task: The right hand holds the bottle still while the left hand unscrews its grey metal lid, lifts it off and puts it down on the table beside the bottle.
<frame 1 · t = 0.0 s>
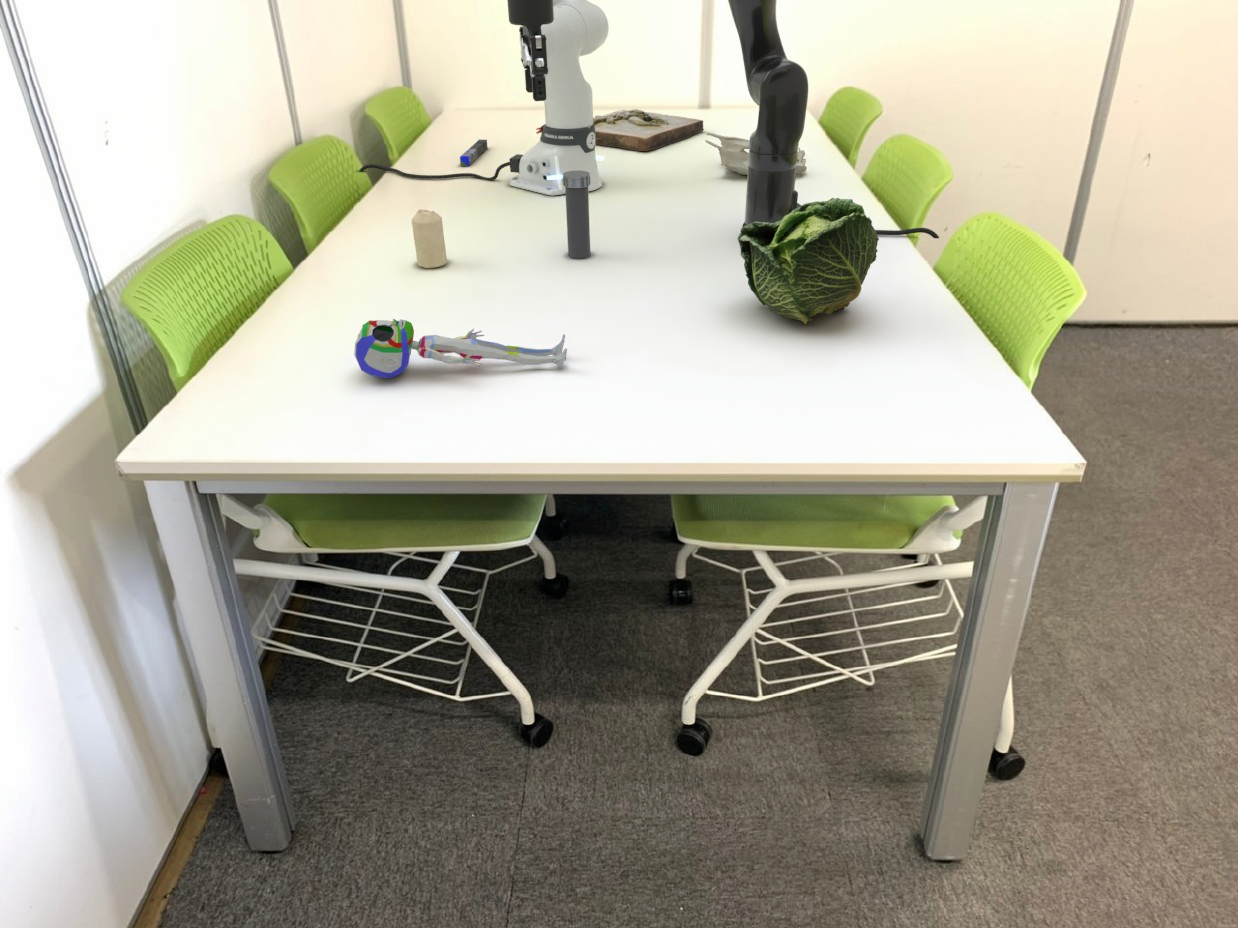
right hand: (536, 96, 156), 29 cm above the table, tool pointing down, fingers open, 8 cm apart
plaque: (633, 136, 259), on the table
candle: (432, 264, 170), on the table
anatomical model: (754, 173, 223), on the table
vegetable: (803, 313, 148), on the table
lid: (576, 176, 165), point 15 cm above the table, screwed on, not yet turned
blue-capped grey bar: (474, 157, 240), on the table
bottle: (579, 255, 173), on the table
toy: (464, 369, 132), on the table
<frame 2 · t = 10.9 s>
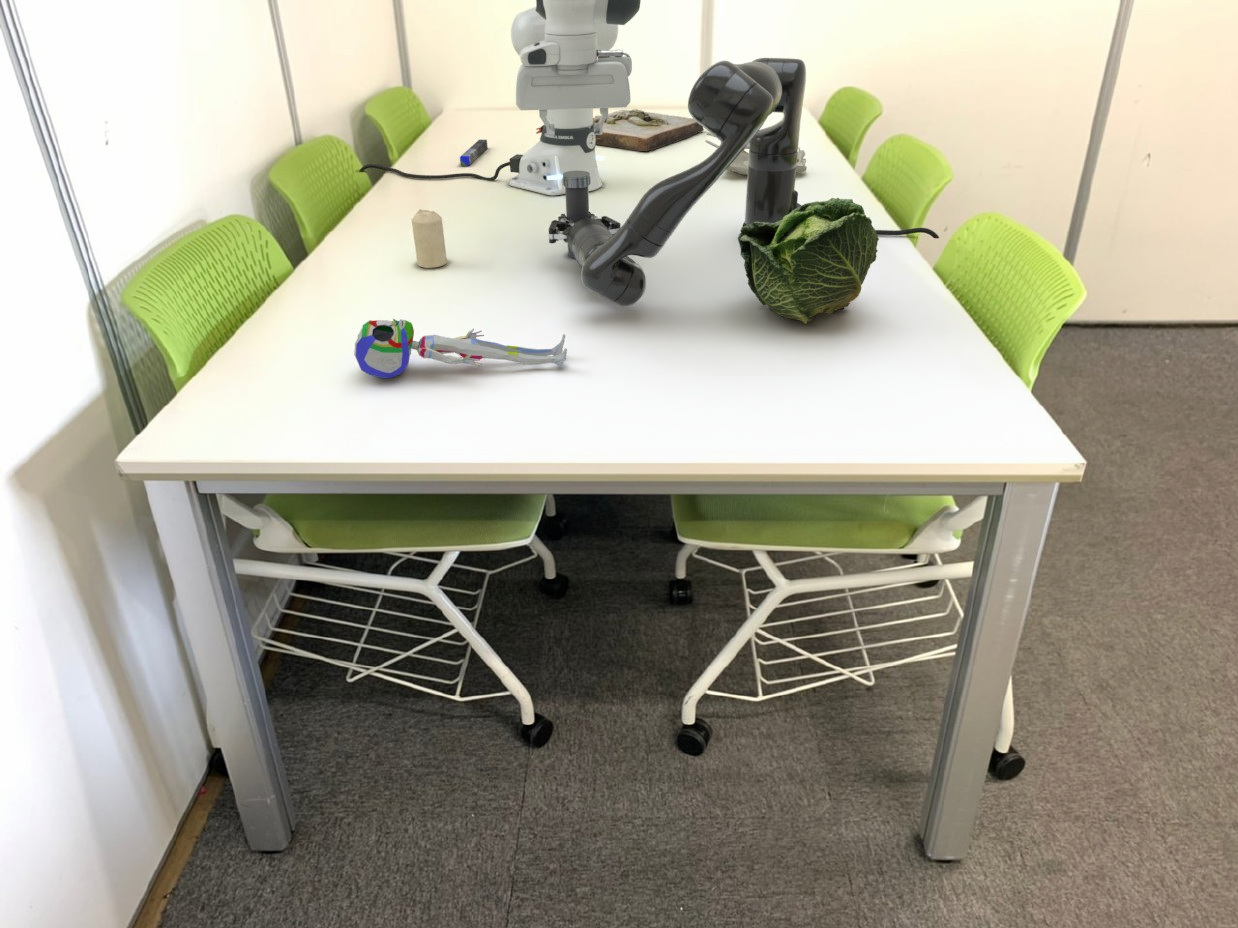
left hand: (574, 134, 161), 22 cm above the table, tool pointing down, fingers open, 7 cm apart
right hand: (575, 218, 172), 6 cm above the table, tool horizontal, fingers closed on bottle, 4 cm apart
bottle: (579, 255, 173), on the table, touching right hand
everything else where it was.
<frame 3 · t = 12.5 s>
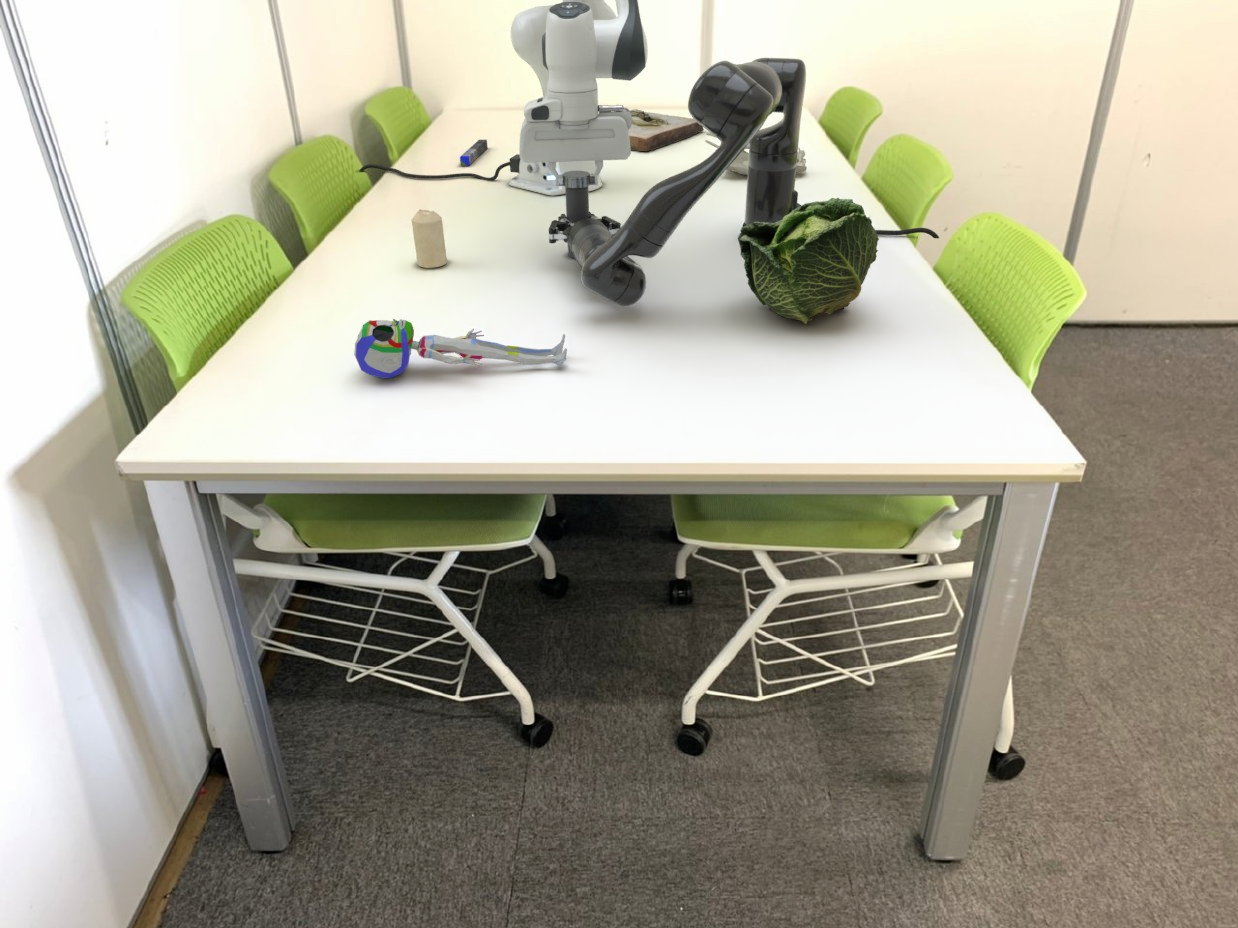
left hand: (576, 185, 166), 13 cm above the table, tool pointing down, fingers closed on lid, 5 cm apart
right hand: (575, 218, 172), 6 cm above the table, tool horizontal, fingers closed on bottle, 4 cm apart
lid: (576, 176, 165), point 15 cm above the table, screwed on, not yet turned, touching left hand
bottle: (579, 255, 173), on the table, touching right hand
everything else where it was.
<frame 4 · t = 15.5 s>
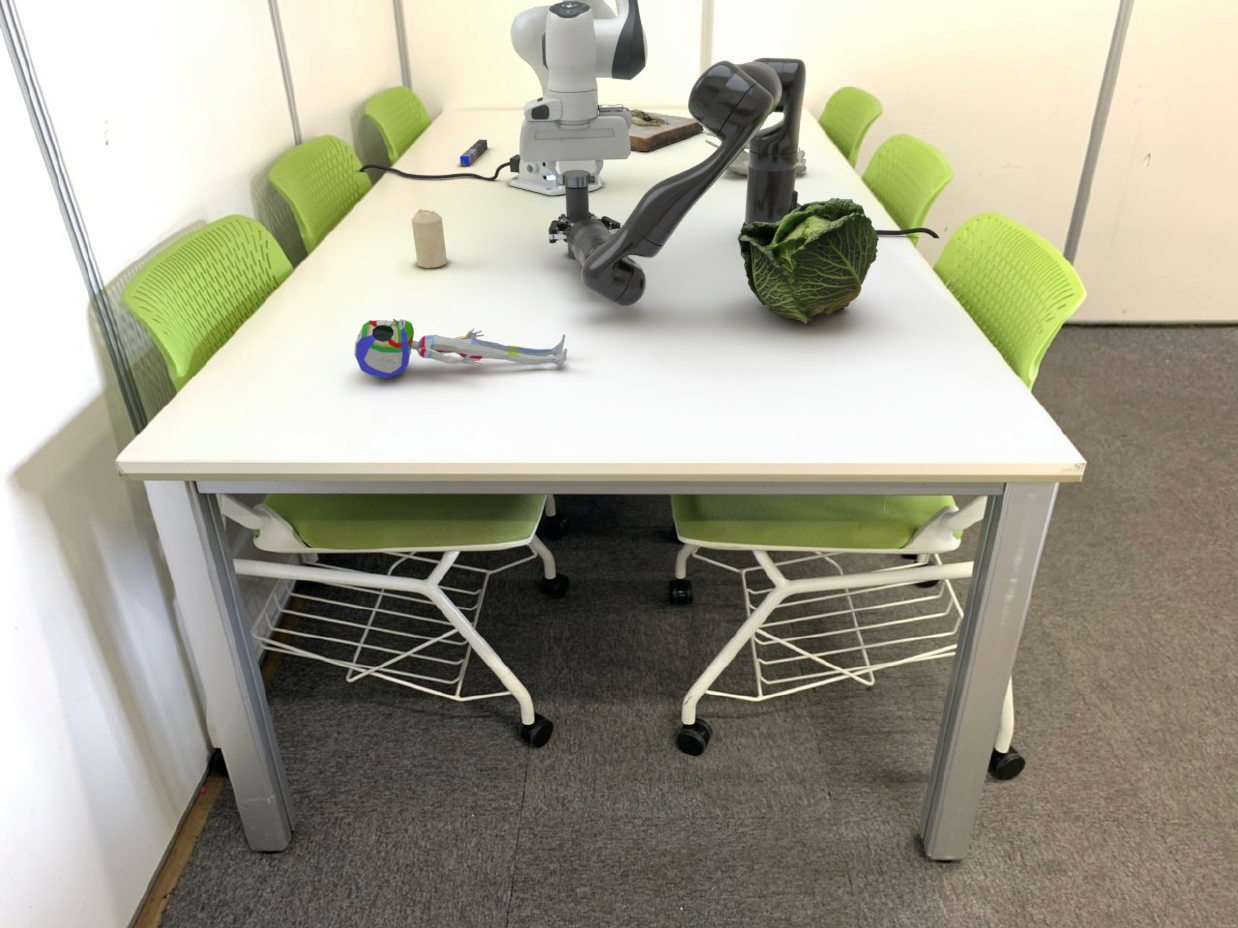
left hand: (576, 184, 166), 13 cm above the table, tool pointing down, fingers closed on lid, 5 cm apart
right hand: (575, 218, 172), 6 cm above the table, tool horizontal, fingers closed on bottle, 4 cm apart
lid: (576, 175, 165), point 15 cm above the table, turned 74° so far, risen 0.1 cm, still on its thread, touching left hand
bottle: (579, 255, 173), on the table, touching right hand
everything else where it was.
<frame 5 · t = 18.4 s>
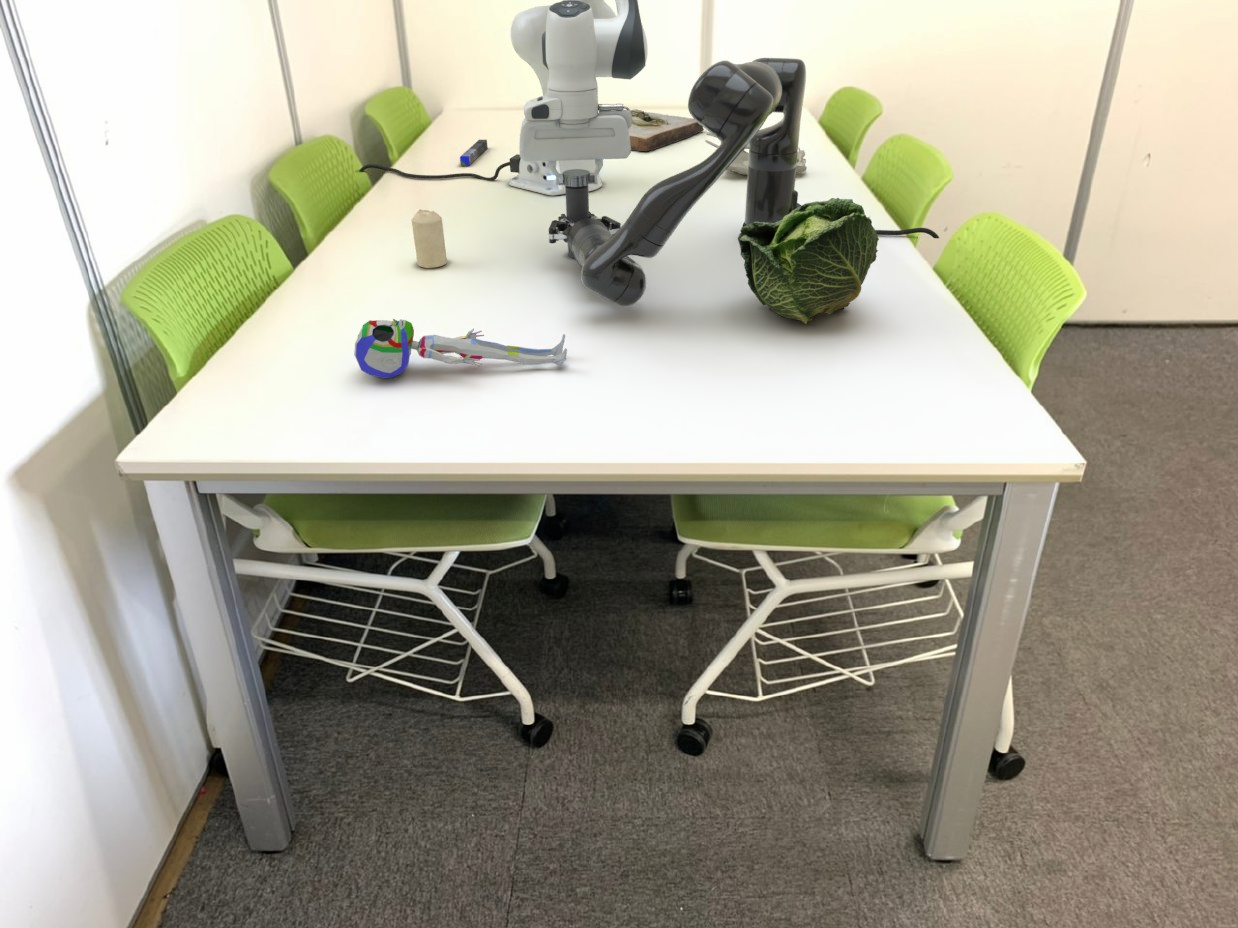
left hand: (576, 184, 166), 14 cm above the table, tool pointing down, fingers closed on lid, 5 cm apart
right hand: (575, 218, 172), 6 cm above the table, tool horizontal, fingers closed on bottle, 4 cm apart
lid: (576, 174, 165), point 15 cm above the table, turned 148° so far, risen 0.3 cm, still on its thread, touching left hand
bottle: (579, 255, 173), on the table, touching right hand
everything else where it was.
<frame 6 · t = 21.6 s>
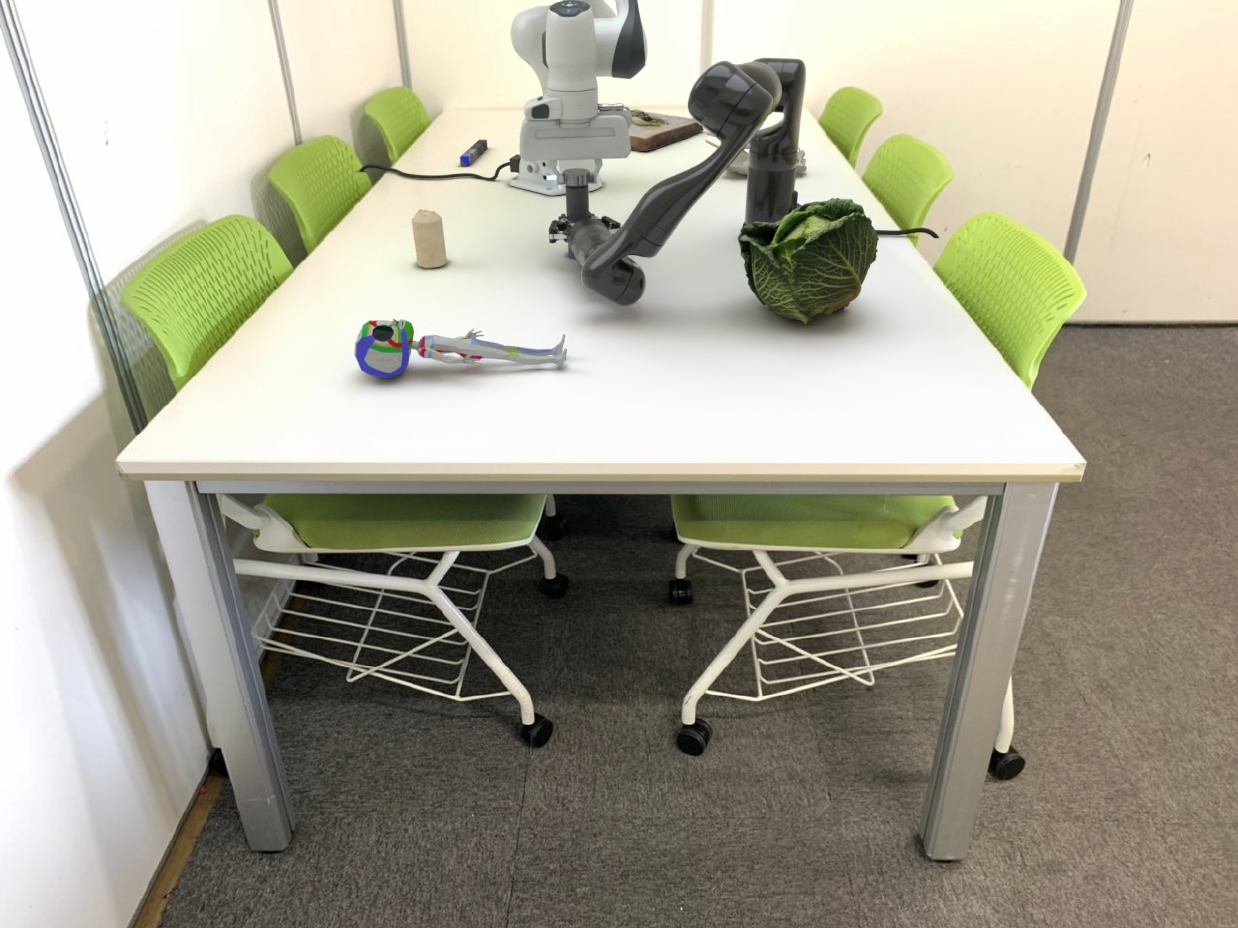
left hand: (576, 183, 166), 14 cm above the table, tool pointing down, fingers closed on lid, 5 cm apart
right hand: (575, 217, 172), 6 cm above the table, tool horizontal, fingers closed on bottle, 4 cm apart
lid: (576, 173, 165), point 15 cm above the table, turned 222° so far, risen 0.4 cm, still on its thread, touching left hand
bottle: (579, 255, 173), on the table, touching right hand
everything else where it was.
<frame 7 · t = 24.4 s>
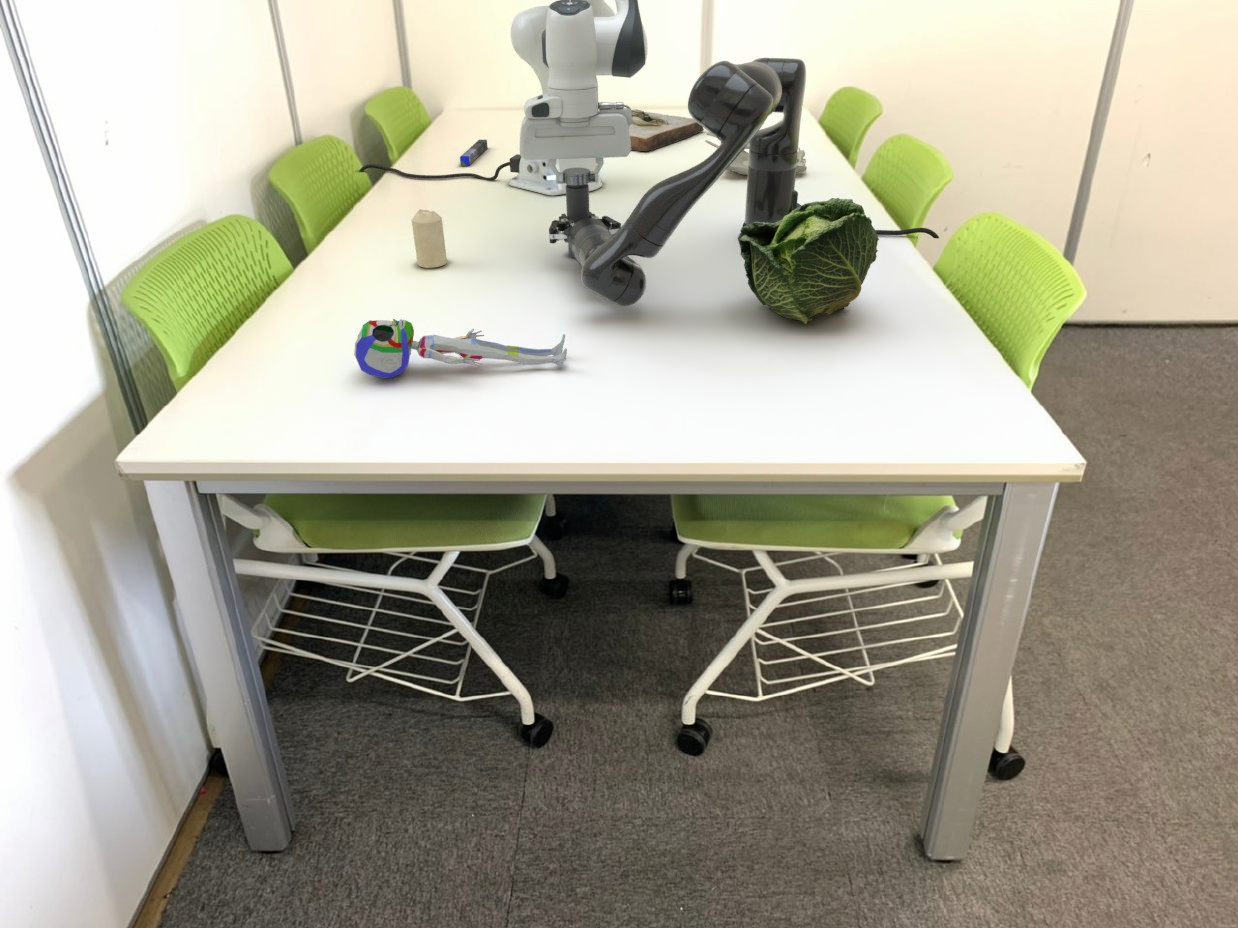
left hand: (576, 182, 166), 14 cm above the table, tool pointing down, fingers closed on lid, 5 cm apart
right hand: (575, 217, 172), 6 cm above the table, tool horizontal, fingers closed on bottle, 4 cm apart
lid: (576, 173, 165), point 16 cm above the table, turned 296° so far, risen 0.5 cm, still on its thread, touching left hand
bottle: (579, 255, 173), on the table, touching right hand
everything else where it was.
when the left hand's fingers open (2 cm above the table, at t = 33.0 s): lid drops 2 cm, point 2 cm above the table.
when the right hand's fingers open (6 cm above the table, at t = 34.0 s): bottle stays where it is, on the table.
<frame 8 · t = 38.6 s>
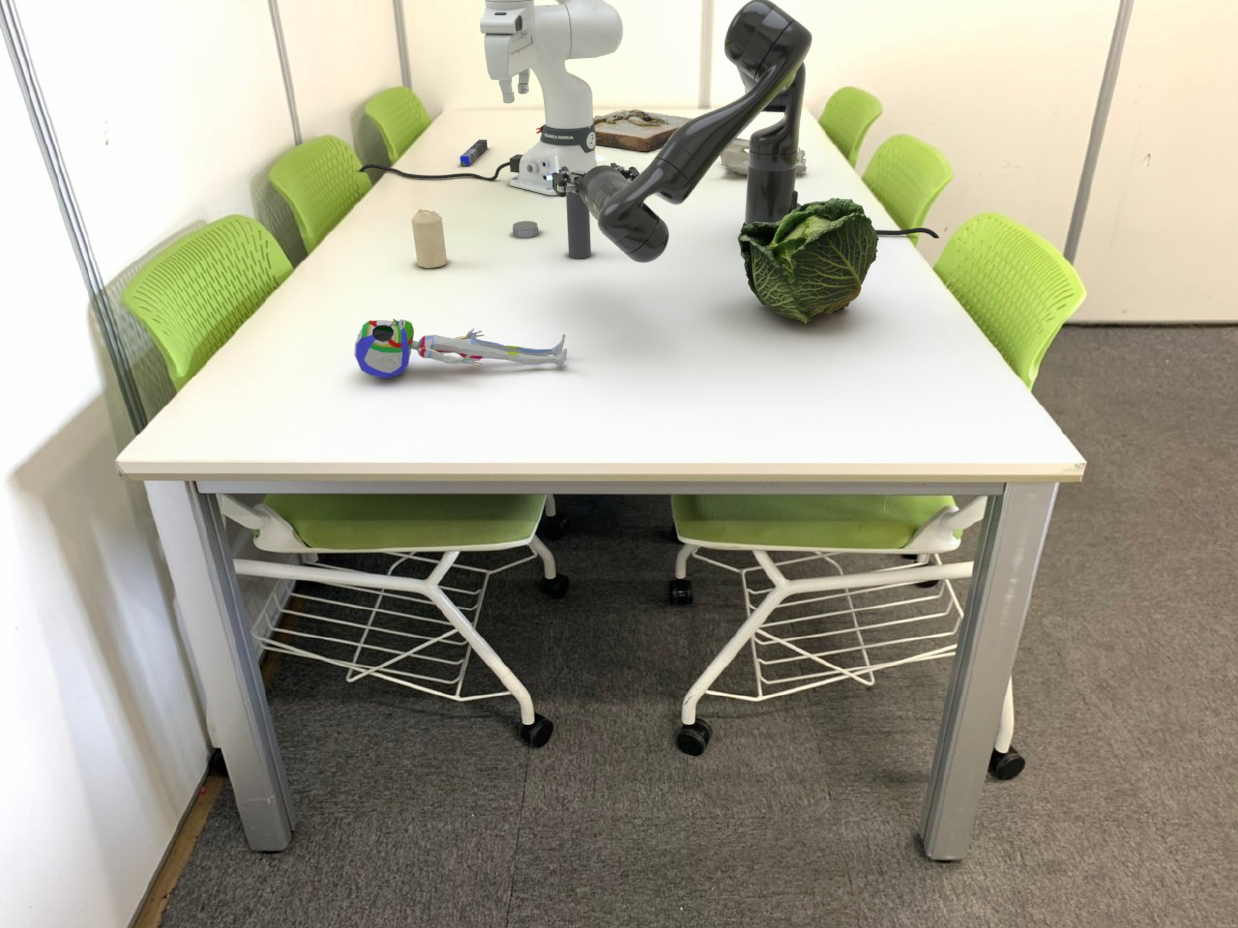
left hand: (516, 98, 171), 26 cm above the table, tool pointing down, fingers open, 8 cm apart
right hand: (588, 170, 153), 19 cm above the table, tool horizontal, fingers open, 8 cm apart
lid: (525, 226, 184), point 2 cm above the table, off its thread
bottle: (579, 255, 173), on the table
everything else where it was.
at the end: lid came off its thread; lid point 1.6 cm above the table; the left hand is holding nothing; the right hand is holding nothing; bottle tilted 0°; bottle moved 0.1 cm from its start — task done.
